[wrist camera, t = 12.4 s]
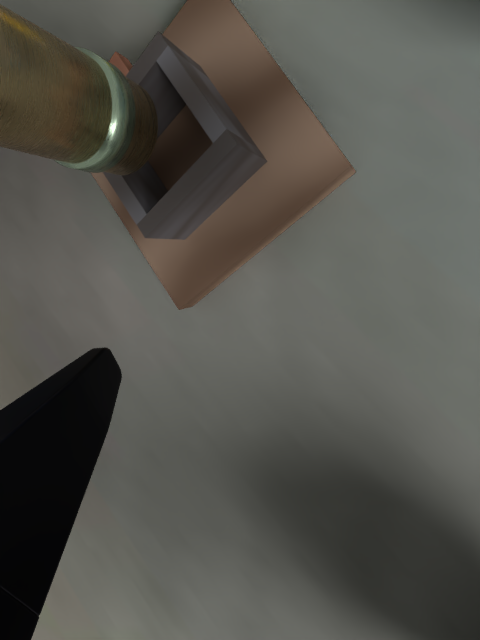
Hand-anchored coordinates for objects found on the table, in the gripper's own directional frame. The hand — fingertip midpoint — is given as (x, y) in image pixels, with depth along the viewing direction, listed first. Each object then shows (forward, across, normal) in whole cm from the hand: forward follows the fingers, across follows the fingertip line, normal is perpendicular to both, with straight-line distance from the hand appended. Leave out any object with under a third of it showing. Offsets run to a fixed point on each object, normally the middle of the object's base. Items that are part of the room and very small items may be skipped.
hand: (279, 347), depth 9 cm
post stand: (+15, +5, -1) cm, 16 cm away
